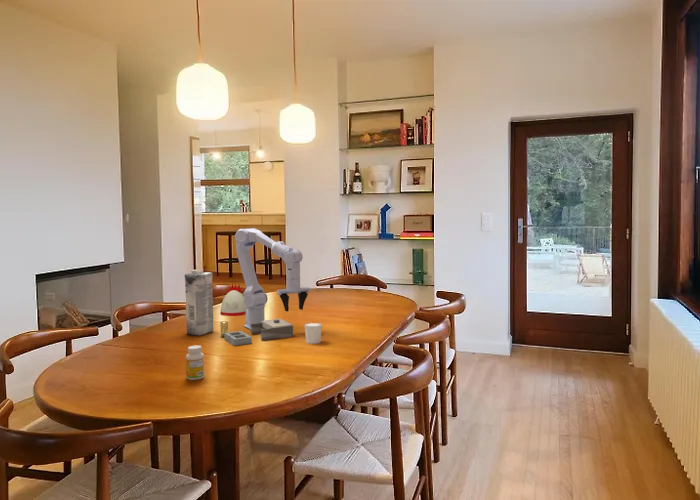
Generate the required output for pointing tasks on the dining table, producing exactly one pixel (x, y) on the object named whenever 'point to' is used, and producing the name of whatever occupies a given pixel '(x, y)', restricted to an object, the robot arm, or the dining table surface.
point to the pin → (224, 328)
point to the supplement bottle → (194, 363)
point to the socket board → (238, 338)
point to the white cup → (313, 333)
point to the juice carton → (199, 302)
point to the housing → (271, 331)
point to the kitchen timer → (233, 302)
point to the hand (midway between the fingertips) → (293, 310)
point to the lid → (275, 323)
